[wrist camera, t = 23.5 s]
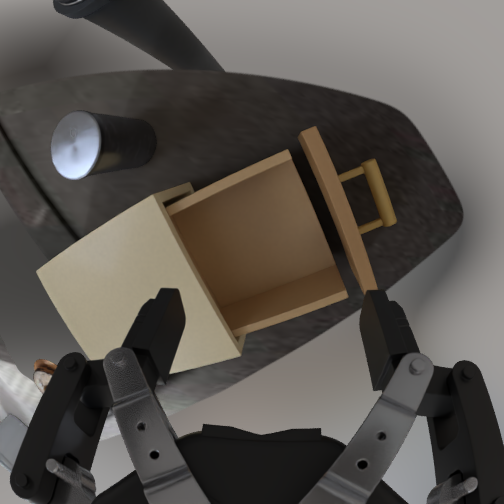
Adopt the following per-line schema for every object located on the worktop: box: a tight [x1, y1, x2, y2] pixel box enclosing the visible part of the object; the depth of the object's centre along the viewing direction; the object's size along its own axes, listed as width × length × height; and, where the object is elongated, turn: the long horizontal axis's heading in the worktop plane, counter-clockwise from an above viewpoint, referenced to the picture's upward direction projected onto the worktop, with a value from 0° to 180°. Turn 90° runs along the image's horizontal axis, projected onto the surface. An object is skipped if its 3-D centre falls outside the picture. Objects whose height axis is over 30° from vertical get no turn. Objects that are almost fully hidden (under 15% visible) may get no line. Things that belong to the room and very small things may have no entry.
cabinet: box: [36, 182, 246, 374], centre depth 30 cm, size 18×16×9 cm
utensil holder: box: [0, 414, 28, 472], centre depth 53 cm, size 15×15×18 cm
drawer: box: [165, 126, 397, 337], centre depth 27 cm, size 21×15×7 cm
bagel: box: [33, 359, 57, 394], centre depth 45 cm, size 15×15×4 cm
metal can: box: [51, 110, 157, 180], centre depth 25 cm, size 6×6×11 cm
